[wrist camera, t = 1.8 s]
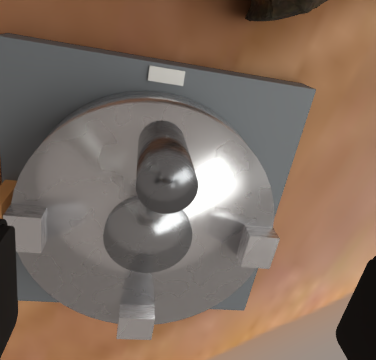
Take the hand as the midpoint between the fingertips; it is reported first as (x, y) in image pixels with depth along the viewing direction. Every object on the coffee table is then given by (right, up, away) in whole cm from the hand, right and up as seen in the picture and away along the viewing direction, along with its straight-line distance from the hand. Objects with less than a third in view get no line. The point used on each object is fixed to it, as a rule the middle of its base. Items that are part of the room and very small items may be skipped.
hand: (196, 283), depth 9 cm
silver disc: (-3, +1, +14) cm, 14 cm away
